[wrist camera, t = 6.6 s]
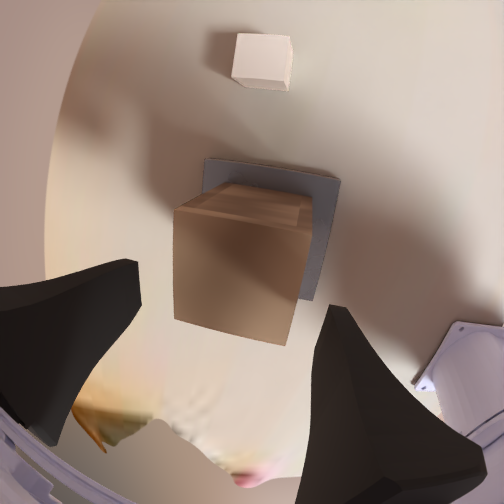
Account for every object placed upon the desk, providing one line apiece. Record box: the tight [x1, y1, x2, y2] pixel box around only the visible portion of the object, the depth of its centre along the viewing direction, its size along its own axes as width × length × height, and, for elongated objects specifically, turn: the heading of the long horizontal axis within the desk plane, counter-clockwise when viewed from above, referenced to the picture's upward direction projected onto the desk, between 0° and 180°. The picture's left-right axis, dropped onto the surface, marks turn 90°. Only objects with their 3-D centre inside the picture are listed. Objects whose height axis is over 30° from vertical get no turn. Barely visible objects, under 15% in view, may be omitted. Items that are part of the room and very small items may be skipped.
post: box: [202, 158, 341, 301], centre depth 15 cm, size 8×8×6 cm
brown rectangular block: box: [173, 182, 312, 346], centre depth 14 cm, size 5×5×7 cm
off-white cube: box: [231, 33, 294, 92], centre depth 12 cm, size 3×3×3 cm
